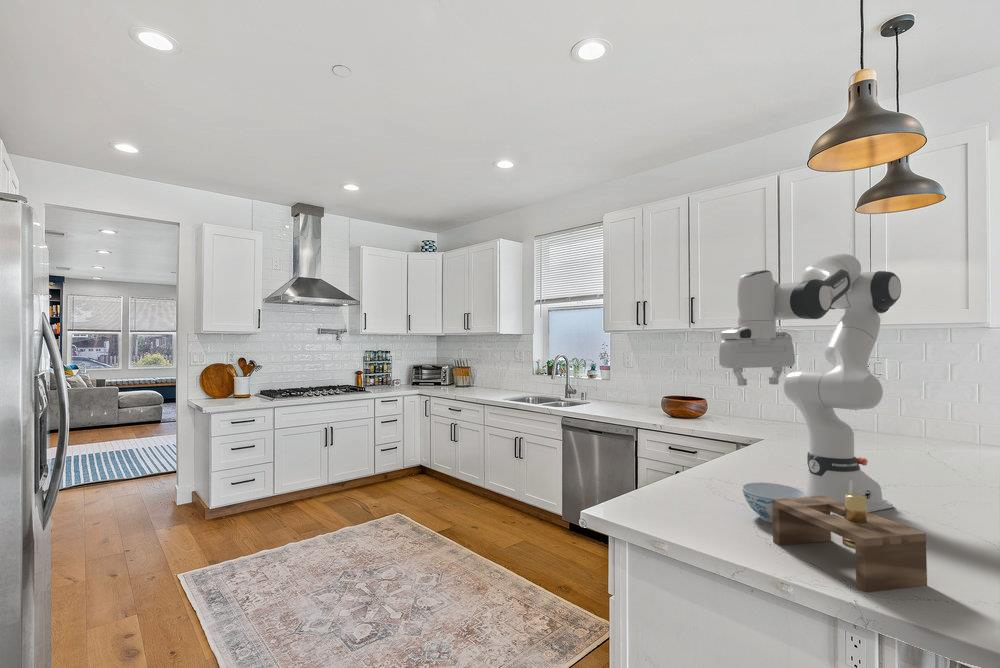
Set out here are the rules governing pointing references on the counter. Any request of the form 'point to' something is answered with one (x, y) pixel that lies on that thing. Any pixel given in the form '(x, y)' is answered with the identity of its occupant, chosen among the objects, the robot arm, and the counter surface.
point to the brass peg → (854, 513)
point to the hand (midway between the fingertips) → (758, 384)
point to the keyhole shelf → (856, 541)
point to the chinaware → (768, 497)
